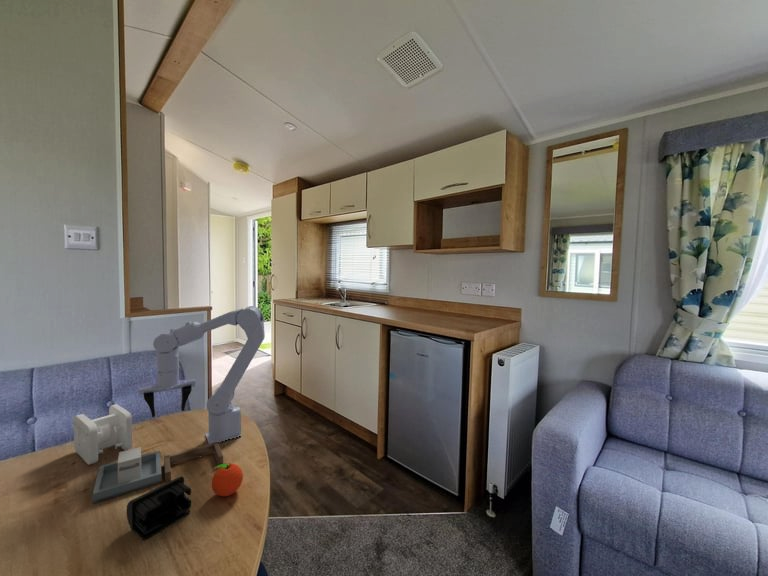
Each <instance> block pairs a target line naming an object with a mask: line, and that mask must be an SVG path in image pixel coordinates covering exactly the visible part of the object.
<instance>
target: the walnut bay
mask: <svg viewBox="0 0 768 576" xmlns="http://www.w3.org/2000/svg"><path fill="white" fill-rule="evenodd" d="M213 452H214V453H213ZM210 453H211V454H213V455H214V454H215V455H214V458H215V460H216V463H217V466H218V465H221V464H224V454H223V452H222V450H221V447H220V444H219V443H218V442H215V443H211V444H209V443H208V444H204V445H200V446H196V447H194V448H193V447H192V448H190V449H186V450H182V451H178V452H175V453H170V454H167V455H163V468H164V481H165V483H164V484H166V483H168V482H170V481H172V469H171V468H172V467H171V466H172V465H176V464H180V463H183V462H187V461H190V460H194V459H197V458H200V456H201V457H204V456H207V455H206V454H208V455H211V454H210ZM203 455H204V456H203Z"/></svg>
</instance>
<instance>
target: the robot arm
mask: <svg viewBox="0 0 768 576" xmlns="http://www.w3.org/2000/svg"><path fill="white" fill-rule="evenodd" d="M264 320H265V317H264V315H263V313H262V311H261V309H260V308H259V307H257V306H254V305H250V306H247V307H245V308H244V307H243V308H240V309H236V310H235V309H234V310H231V311H228V312H227V313H223V314H221V315H219V316H217V317H214V318H212V319H209V320H206V321H204V322H201V323H200V322H197V321H193V322H192V320H191V321H188V322H185V323H184V324H185V325H182V326H180V327H177V328H175V327H173V328H171V329H169V331H167V332H164V333H161V334H160V335H158V336H156V337H155V338H154V339H153V344H152V346H153V348H154V350H156V383H155V384H151V385H147V386H146V385H145V386H143V387H139V388H138V395H139V396H140V397H141V396H143V400H144V401H145V402H146V404H147V406H148V407H149V410H150V414H151V417H152V418H154V417H156V411H155V394H154V393H160V392H166V391H172V390H173V391H174V390H178V389H181V404H180V405H181V406H180V407H181V412H184V411H185V408H186V404H187V401H188V398H189V396H190V394H191V393H192V388H193V387H196V379H195V378H194V379H181V380H180V353H179V351H180V350H179V348H180V347H182V346H185V345H188V344H190V343H193V342H195V341H198V340H200V339H202V338H203V337H204V336H205V334H206V333H207V332H209V331H213V330H215V329H218V328H221V327H224V326H225V325H226V326H227V325H231V326H235V327H236V326H237V325H238V326H239V327H240V328H241V329H242V330H243V331H244V333H245V335H246V337H247V338H246V339H247V340H246V341H245V344H244V345H243V347H242V348H241V350H240V351H239V353H238V355H237V357H236V358H235V360H234V362H233V364H232V366H231V367H230V369H229V371H228V372H227V374H226V375H225V377H224V379H223V381H222V383H221V384H220V386H219V387H217V388H216V389H215V391H214V392H213V394H212V395H211V397H209V398H208V400H207V402H206V405H205V406H206V410H207V411H208V432H206V433H205V437H206V440H207V443H208V444H211V443H215V442H219V443H223V442H226V441H225V440H227V441H229V440H228V439H230V440H232V439H231V438H234V439H236V438H235V437H238V438H240V437H239V436H241V435H242V414H241V409H240V406H234V405H233V403H232V401H233V399H234V397H235V390H236V389H237V386H238V385H239V383H240V382H241V379H242V378H243V376H244V374H245V372H246V370H247V369H248V367H249V366H250V365H251V362H252V360H253V359H254V357H255V355H256V354H257V352H258V350H259V349H260V346H261V345H262V343H263V342H264V340H265V338H266V337H265V334H266V333H265V321H264ZM139 396H138V397H139ZM241 437H242V436H241ZM222 441H223V442H222Z"/></svg>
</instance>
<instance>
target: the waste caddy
mask: <svg viewBox="0 0 768 576" xmlns="http://www.w3.org/2000/svg"><path fill="white" fill-rule="evenodd" d="M141 455H142V446H140V447H135V448H130V449H128V450H123V451H119V452H118V459H117V462H118V484H121V483H124V482H128V481H131V480H134V479H138V478H141Z"/></svg>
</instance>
